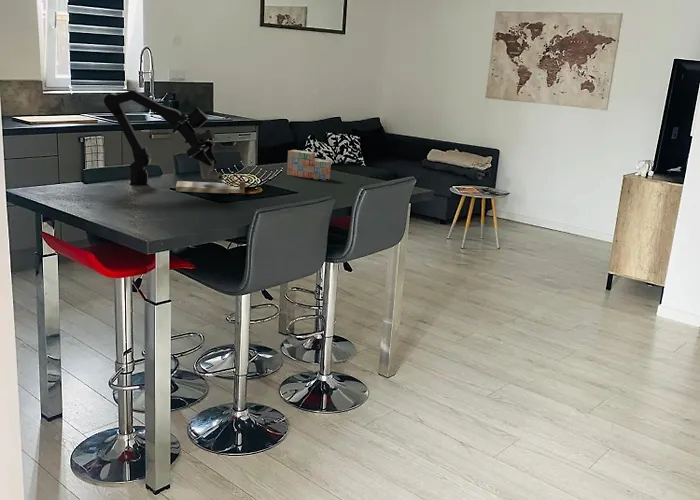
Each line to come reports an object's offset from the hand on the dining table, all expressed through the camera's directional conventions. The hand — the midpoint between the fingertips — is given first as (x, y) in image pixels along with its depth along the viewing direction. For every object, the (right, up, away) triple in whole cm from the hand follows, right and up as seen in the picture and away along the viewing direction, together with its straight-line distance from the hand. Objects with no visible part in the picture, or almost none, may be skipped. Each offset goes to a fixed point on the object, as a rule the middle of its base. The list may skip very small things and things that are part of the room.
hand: (213, 164), depth 291 cm
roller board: (-2, -10, +3) cm, 11 cm away
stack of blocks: (+36, 0, +55) cm, 66 cm away
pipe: (-2, -6, +2) cm, 7 cm away
